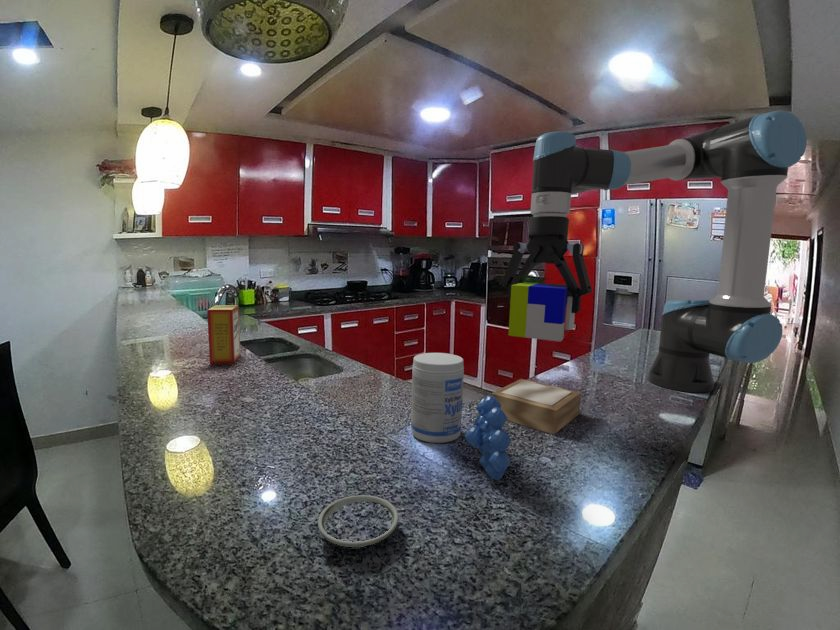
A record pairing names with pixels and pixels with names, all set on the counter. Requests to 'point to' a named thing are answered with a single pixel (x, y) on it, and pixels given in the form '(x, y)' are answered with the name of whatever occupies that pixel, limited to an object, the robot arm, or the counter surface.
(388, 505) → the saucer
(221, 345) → the baking soda box
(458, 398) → the supplement tub
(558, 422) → the oak picture frame
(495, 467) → the grapes
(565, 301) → the puzzle toy
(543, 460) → the counter surface
